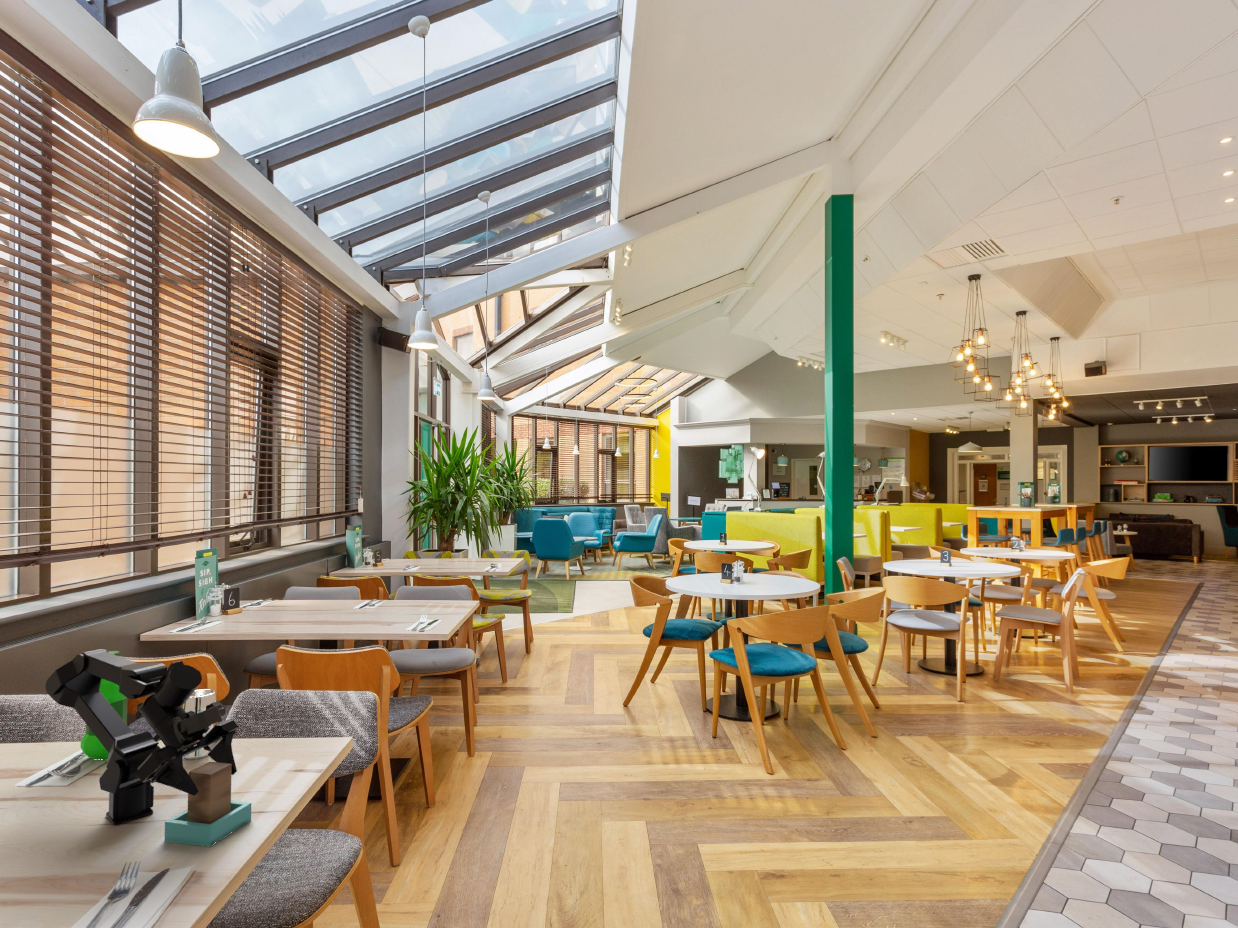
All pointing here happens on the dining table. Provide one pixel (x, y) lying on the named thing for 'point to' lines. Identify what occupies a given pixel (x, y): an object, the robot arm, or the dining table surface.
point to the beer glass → (198, 704)
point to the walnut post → (210, 793)
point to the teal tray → (207, 826)
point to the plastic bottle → (119, 703)
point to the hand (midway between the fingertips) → (216, 782)
